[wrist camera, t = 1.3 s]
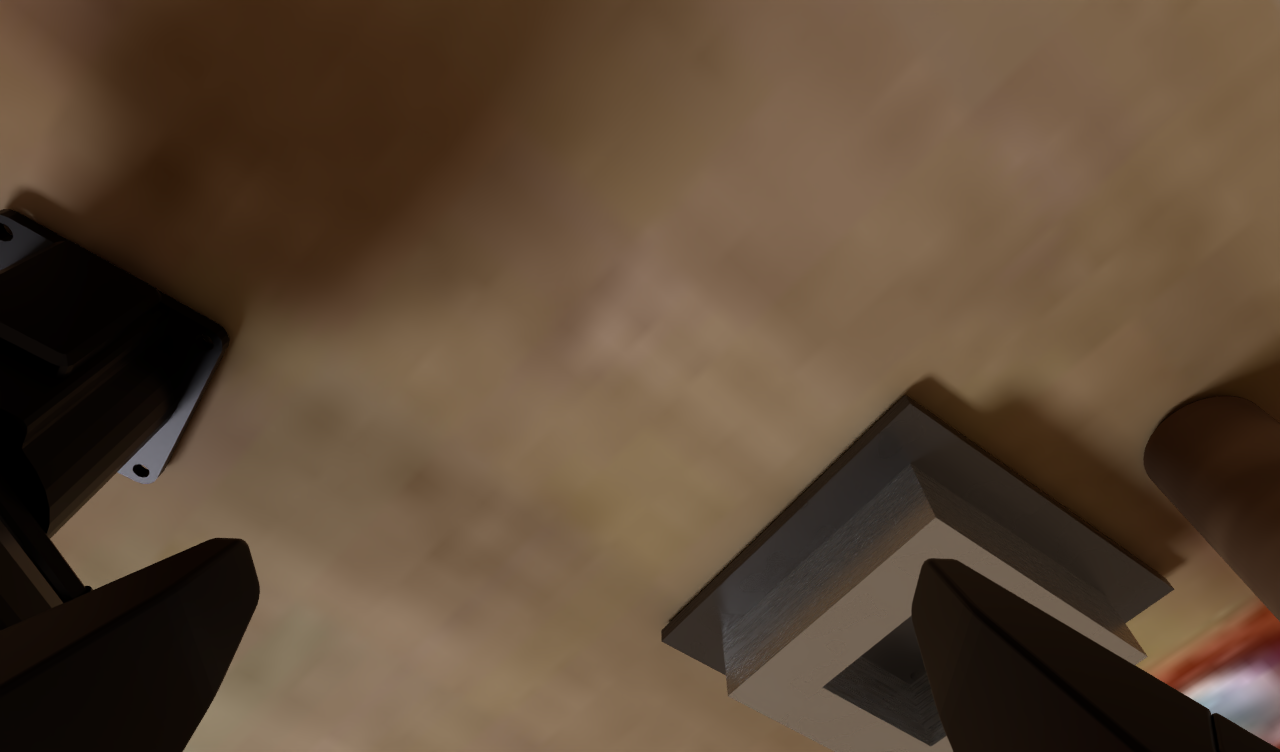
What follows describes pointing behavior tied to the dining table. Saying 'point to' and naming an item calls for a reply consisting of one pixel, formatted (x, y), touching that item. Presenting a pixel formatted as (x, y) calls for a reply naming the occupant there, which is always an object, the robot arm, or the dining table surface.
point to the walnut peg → (1226, 484)
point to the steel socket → (896, 584)
